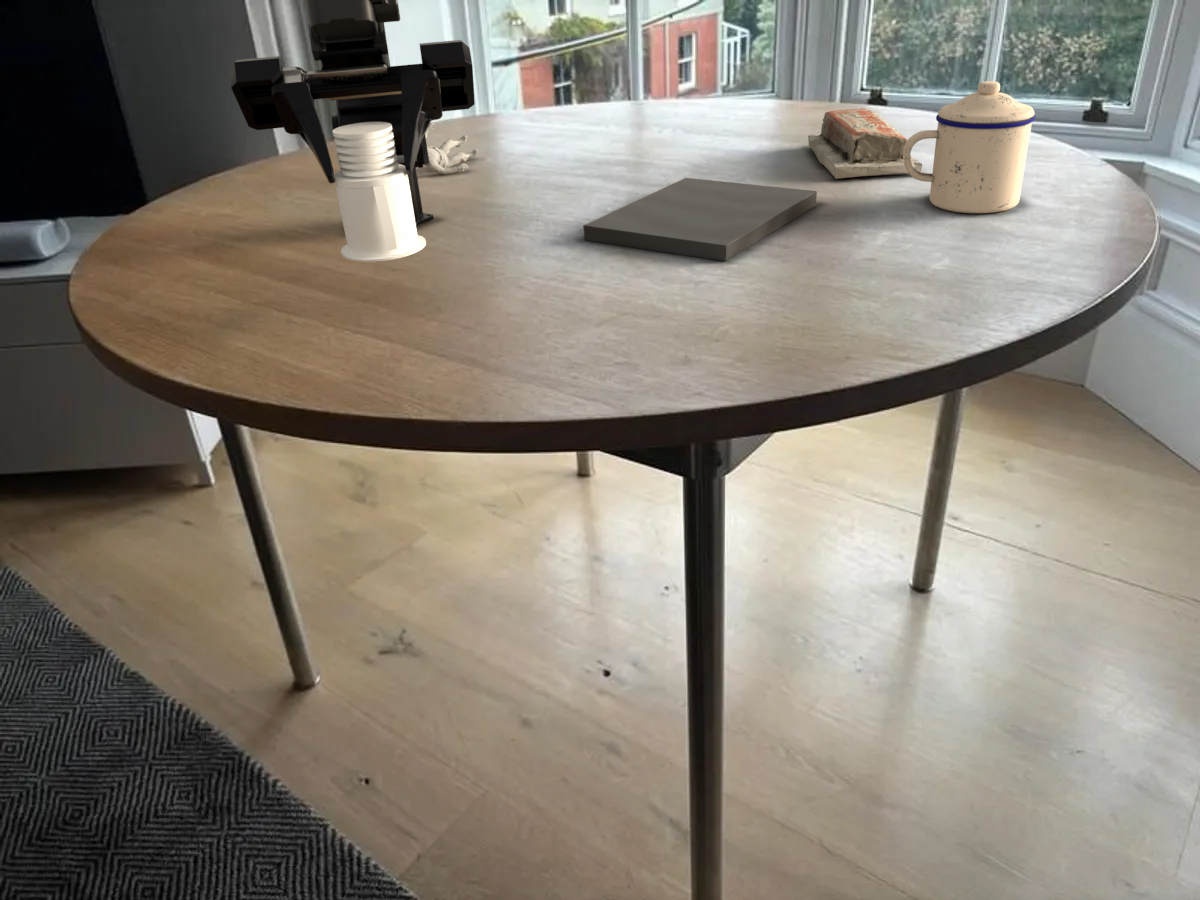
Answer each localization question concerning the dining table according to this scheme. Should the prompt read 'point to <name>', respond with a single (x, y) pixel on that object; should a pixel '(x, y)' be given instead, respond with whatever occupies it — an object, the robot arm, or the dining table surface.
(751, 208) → the slate board
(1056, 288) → the dining table surface
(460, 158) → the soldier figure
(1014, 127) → the teacup with lid
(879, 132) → the packaged product
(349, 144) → the downlight
